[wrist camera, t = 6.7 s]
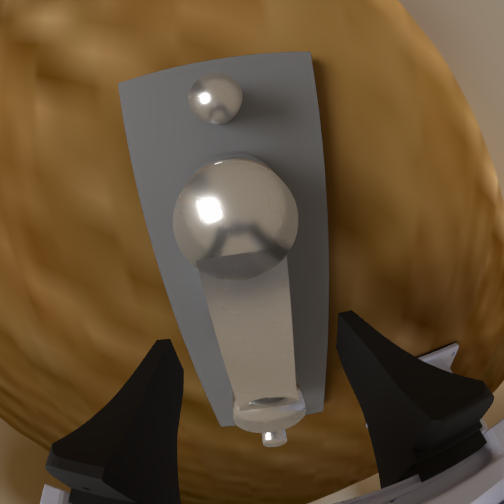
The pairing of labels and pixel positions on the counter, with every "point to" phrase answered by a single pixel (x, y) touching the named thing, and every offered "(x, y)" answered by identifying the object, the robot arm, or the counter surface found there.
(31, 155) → the counter surface
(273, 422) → the ball knob lever
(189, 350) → the grey metal plate
